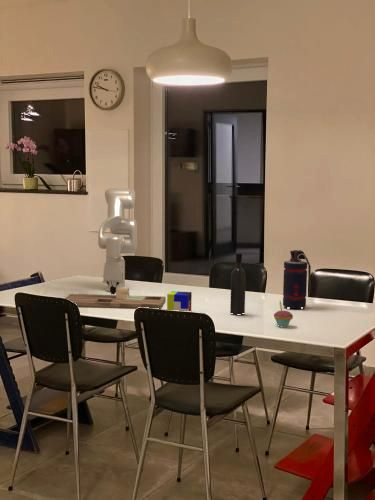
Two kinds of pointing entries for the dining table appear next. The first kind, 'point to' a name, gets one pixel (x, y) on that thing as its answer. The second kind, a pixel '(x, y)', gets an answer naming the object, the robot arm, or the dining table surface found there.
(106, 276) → the robot arm
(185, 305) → the puzzle toy
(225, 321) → the dining table surface
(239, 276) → the wine bottle
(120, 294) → the maple block
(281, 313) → the cupcake
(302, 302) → the grenade
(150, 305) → the trap deck
